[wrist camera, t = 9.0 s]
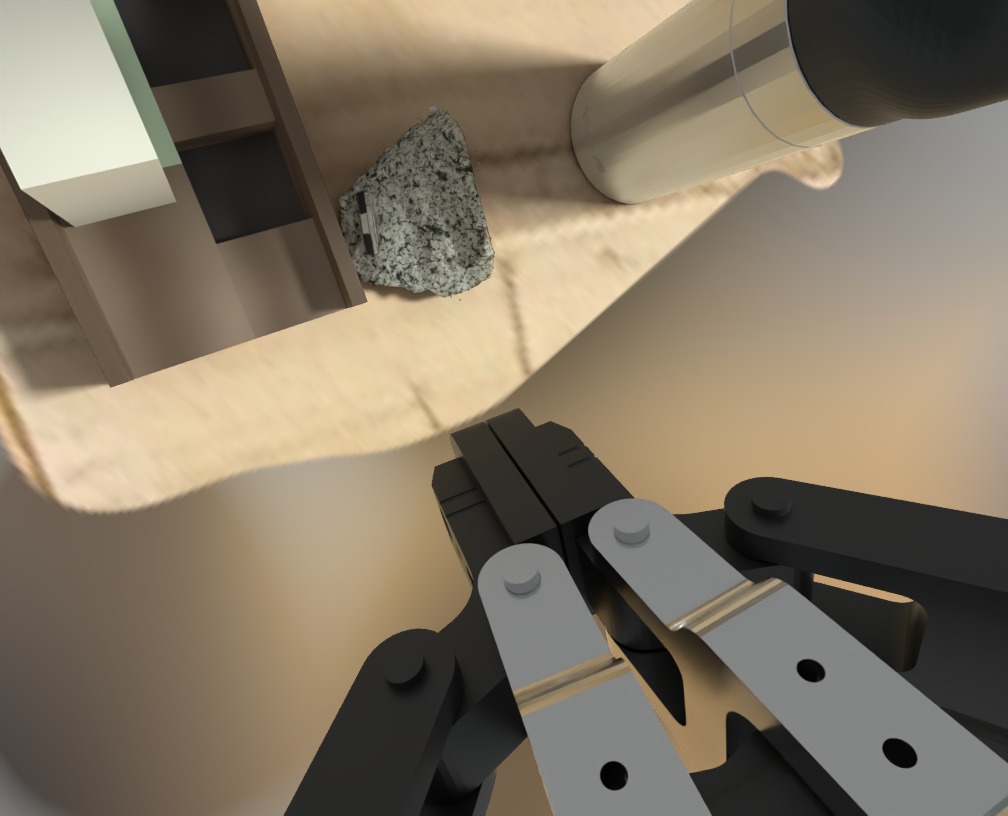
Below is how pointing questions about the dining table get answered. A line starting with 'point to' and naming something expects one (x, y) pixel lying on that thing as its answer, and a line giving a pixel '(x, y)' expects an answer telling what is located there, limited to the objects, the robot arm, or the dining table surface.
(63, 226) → the box
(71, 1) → the brick
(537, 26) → the dining table surface
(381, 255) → the rock sample
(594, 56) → the dining table surface
